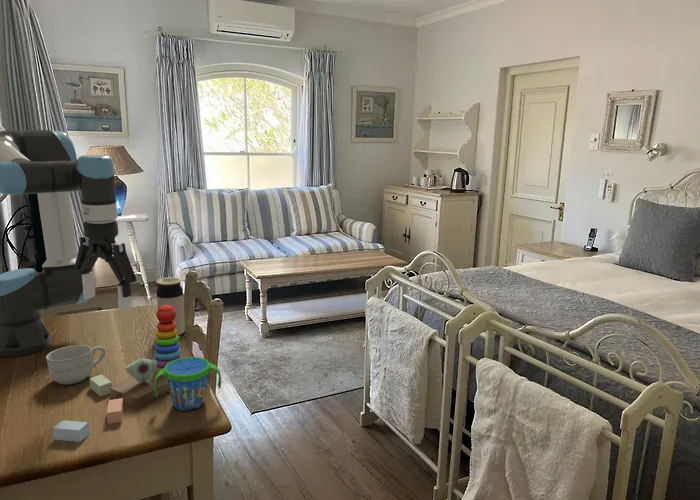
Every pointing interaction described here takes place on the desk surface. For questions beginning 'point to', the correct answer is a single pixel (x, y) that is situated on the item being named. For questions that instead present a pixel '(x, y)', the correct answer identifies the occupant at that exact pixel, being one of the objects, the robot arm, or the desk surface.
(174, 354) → the stacking toy
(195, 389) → the snack cup
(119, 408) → the brick terracotta
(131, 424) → the desk surface
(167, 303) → the travel mug
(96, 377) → the brick sage
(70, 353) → the teacup
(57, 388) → the desk surface
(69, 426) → the brick blue
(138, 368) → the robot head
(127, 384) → the plinth
